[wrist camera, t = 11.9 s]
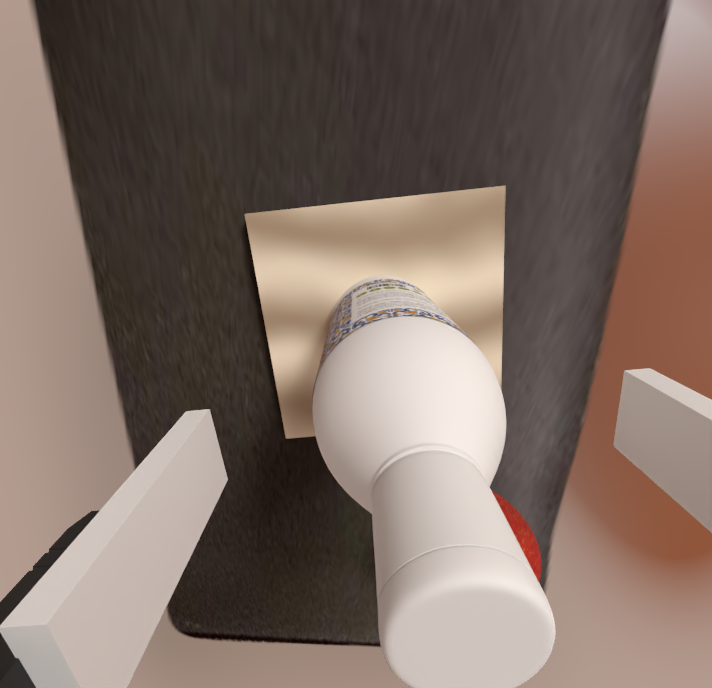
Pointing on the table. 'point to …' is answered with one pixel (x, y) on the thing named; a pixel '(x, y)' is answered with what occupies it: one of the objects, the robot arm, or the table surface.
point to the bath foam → (429, 489)
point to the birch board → (374, 274)
